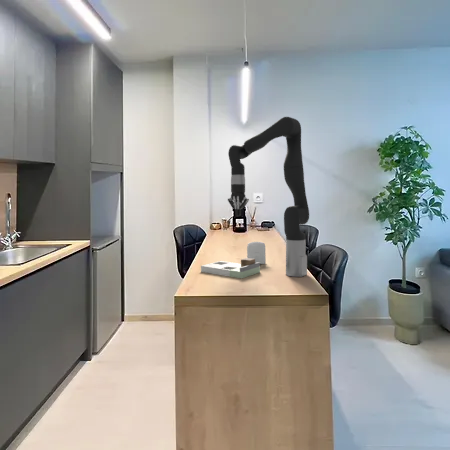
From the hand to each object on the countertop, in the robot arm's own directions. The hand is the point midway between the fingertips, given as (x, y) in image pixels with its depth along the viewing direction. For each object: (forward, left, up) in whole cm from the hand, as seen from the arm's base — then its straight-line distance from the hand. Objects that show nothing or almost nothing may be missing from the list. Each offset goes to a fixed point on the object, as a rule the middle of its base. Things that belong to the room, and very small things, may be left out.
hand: (238, 216), depth 202 cm
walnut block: (-14, +12, -24) cm, 30 cm away
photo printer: (-5, -10, -27) cm, 30 cm away
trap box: (-6, +15, -27) cm, 31 cm away
